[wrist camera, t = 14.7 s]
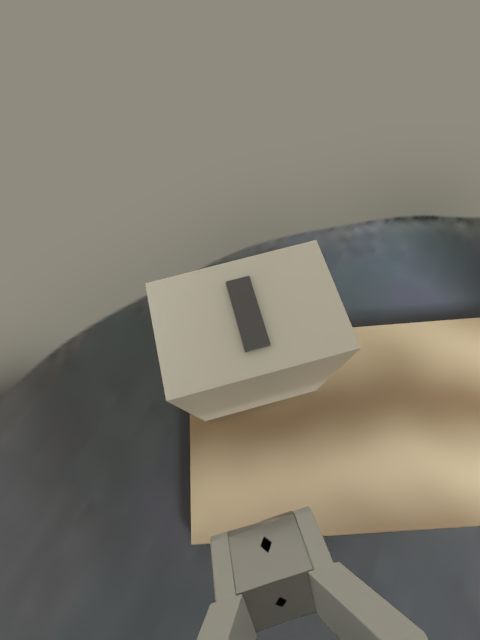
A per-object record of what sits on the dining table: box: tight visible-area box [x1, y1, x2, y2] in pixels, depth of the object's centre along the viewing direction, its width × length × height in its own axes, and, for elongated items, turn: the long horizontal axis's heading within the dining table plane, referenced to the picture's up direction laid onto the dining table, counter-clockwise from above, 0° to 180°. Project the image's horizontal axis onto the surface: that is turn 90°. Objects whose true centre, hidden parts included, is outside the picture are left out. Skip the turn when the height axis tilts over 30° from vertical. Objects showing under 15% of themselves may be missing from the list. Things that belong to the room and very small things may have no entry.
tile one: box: [145, 240, 361, 421], centre depth 14 cm, size 4×6×8 cm
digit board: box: [190, 318, 480, 545], centre depth 18 cm, size 10×26×1 cm, turn 94°
